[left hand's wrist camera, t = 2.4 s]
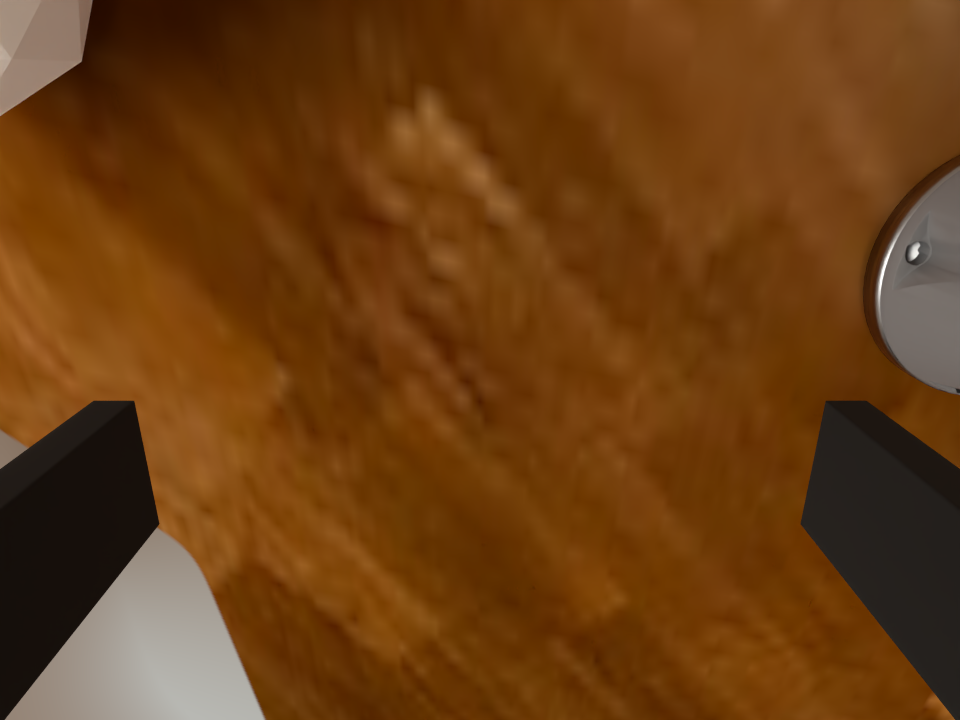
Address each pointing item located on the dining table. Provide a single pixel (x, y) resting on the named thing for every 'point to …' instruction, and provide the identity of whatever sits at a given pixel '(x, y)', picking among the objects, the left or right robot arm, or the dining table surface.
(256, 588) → the dining table surface
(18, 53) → the sphere
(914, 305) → the right robot arm
